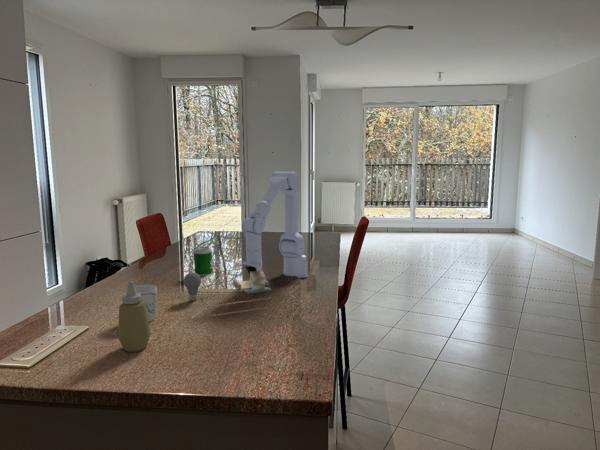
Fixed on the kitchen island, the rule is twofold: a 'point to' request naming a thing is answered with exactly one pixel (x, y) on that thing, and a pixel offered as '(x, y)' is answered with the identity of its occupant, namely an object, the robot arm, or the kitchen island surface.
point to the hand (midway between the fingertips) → (254, 285)
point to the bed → (245, 284)
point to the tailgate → (257, 290)
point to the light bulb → (192, 284)
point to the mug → (148, 299)
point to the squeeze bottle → (133, 321)
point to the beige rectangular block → (257, 280)
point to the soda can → (203, 261)
